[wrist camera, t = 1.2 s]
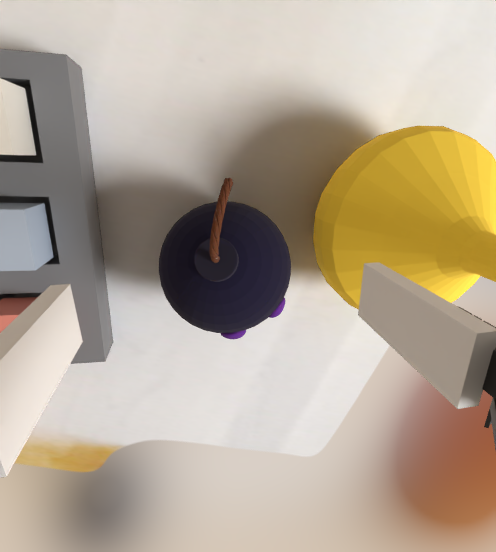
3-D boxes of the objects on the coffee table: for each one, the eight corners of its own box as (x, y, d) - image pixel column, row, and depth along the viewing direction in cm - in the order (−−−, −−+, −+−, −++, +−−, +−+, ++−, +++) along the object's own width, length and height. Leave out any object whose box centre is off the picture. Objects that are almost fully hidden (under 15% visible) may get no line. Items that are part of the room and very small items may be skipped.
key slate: (-19, 202, 28) (-50, 208, 25) (44, 203, 29) (24, 209, 26) (-7, 257, 30) (-33, 271, 26) (53, 257, 31) (35, 270, 27)
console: (-74, 54, 27) (-115, 39, 24) (81, 67, 29) (66, 54, 26) (-1, 348, 37) (-22, 369, 33) (113, 341, 39) (105, 361, 35)
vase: (390, 305, 44) (528, 406, 26) (268, 260, 39) (336, 348, 21) (465, 172, 39) (695, 184, 22) (338, 101, 34) (502, 41, 16)
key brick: (3, 298, 31) (-21, 316, 28) (59, 296, 32) (44, 313, 29) (13, 343, 33) (-8, 366, 29) (67, 340, 34) (53, 362, 30)
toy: (197, 314, 39) (203, 399, 26) (133, 212, 34) (96, 250, 20) (286, 267, 39) (341, 327, 25) (235, 158, 34) (268, 159, 20)
